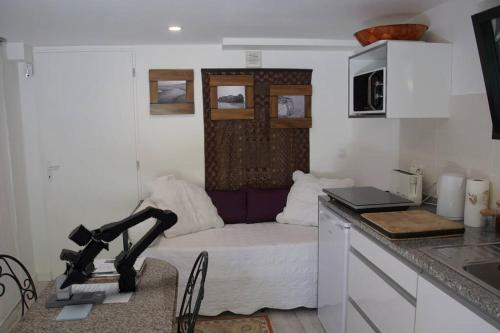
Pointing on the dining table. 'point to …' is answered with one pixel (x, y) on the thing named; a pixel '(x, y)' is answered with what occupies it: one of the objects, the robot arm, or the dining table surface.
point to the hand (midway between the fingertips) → (60, 286)
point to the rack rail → (77, 299)
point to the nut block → (65, 293)
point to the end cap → (89, 269)
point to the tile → (74, 312)
